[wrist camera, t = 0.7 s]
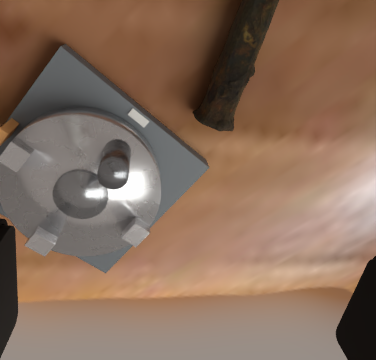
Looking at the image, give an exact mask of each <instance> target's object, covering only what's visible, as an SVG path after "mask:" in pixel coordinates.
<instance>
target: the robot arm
mask: <svg viewBox="0 0 376 360" xmlns="http://www.w3.org/2000/svg"><path fill="white" fill-rule="evenodd" d="M17 316H18V296H17V268H16V241H15V228H14V227H13V226H8V224H7V221H6V220H5V219H0V358H1V355H2V353H3V351H4V349H5V347H6V344H7V342H8V340H9V337H10V335H11V333H12V331H13V329H14V327H15V324H16V320H17ZM336 338H337V341H338V343H339V345H340V347H341V349H342V350H343V352H344V354H345V355H346V357H347V359H348V360H376V256H375V257H374V258H373V259H371V260H370V261H369V262H368V263H367V265H366V268H365V270H364V272H363V274H362V276H361V278H360V280H359V282H358V284H357V287H356V289H355V291H354V293H353V295H352V297H351V299H350V301H349V303H348V306H347V308H346V310H345V312H344V314H343V316H342V318H341V320H340V323H339V325H338V327H337V329H336Z"/></svg>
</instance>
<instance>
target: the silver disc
mask: <svg viewBox="0 0 376 360" xmlns="http://www.w3.org/2000/svg"><path fill="white" fill-rule="evenodd" d="M160 200H161V180H160V171H159V164H158V161H157V158H156V155H155V153H154V151H153V149H152V147H151V145H150V144H149V142H148V141H147V139H146V138H145V137H144V136H143V135H142V134H141V132H140V131H139V130H137V129H136V128H135V127H134V126H133V125H132V124H130V123H129V122H127V121H126V120H124V119H123V118H121V117H119V116H117V115H115V114H112V113H110V112H107V111H104V110H100V109H96V108H90V107H66V108H60V109H57V110H53V111H50V112H48V113H45V114H43V115H41V116H39V117H38V118H36V119H34V120H33V121H32V122H30V123H29V124H28V125H27V126H26V127H25V128H24V129H23V130H22V131H21V132H20V133H19V134H18V135H17V136H16V137H15V138H14V139H13V140H12V141H11V142H10V143H9V145H8V146H7V147H6V149H5V150H4V152H3V153H2V154H1V156H0V203H1V205H2V208H3V210H4V212H5V213H6V215H7V217H8V218H9V219H10V221H11V222H12V223H13V225H14V226H15V227H16V228H17V229H18V230H19V231H20V232H21V233H22V234H24V235H25V236H26V237H27V238H28V239H27V241H26V243H25V246H26V247H28V248H30V249H32V250H34V251H36V252H37V253H39V254H41V255H43V256H46V255H47V254H48V252H49V251H50V250H52V251H55V252H58V253H62V254H66V255H73V256H97V255H104V254H108V253H111V252H115V251H117V250H120V249H122V248H124V247H126V246H128V245H130V244H132V245H133V246H135V247H137V246H138V245H139V244H140V242H141V241H142V240H143V239H144V238H145V237H146V236H147V235H148V234H149V233H150V225H151V224H152V222H153V221H154V219H155V216H156V214H157V212H158V209H159V205H160Z"/></svg>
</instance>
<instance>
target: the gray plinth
mask: <svg viewBox="0 0 376 360" xmlns="http://www.w3.org/2000/svg"><path fill="white" fill-rule="evenodd" d="M66 107H90V108H96V109H100V110H104V111H107V112H110V113H112V114H115V115H117V116H119V117H121V118H123V119H124V120H126V121H127V122H129V123H130V124H132V125H133V126H134V127H135V128H136V129H137V130H139V131H140V132H141V134H142V135H143V136H144V137H145V138H146V139H147V141H148V142H149V144H150V145H151V147H152V149H153V151H154V153H155V155H156V158H157V161H158V164H159V171H160V180H161V200H160V205H159V209H158V212H157V214H156V216H155V219H154V221H153V222H152V224H151V225H150V228H151V227H152V225H153V224H154V223H155V222H156V221H157V220H158V219H159V218H160V217H161V216H162V215H163V214H164V213H165V212H166V211H167V210H168V209H169V208H170V207H171V206H172V205H173V204H174V203H175V202H176V201H177V200H178V199H179V198H180V197H181V196H182V195H183V194H184V193H185V192H186V191H187V190H188V189H189V188H190V187H191V186H192V185H193V184H194V183H195V182H196V181H197V180H198V179H199V178H200V177H201V176H202V175H203V174H204V173H205V171H206V170H207V169H208V168H209V166H208V163H207V161H206V160H205V159H204V158H203V157H202V156H201V155H199V154H198V153H197V152H196V151H195V150H193V149H192V148H191V147H190V146H188V145H187V144H186V143H185V142H184V141H182V140H181V139H180V138H179V137H178V136H176V135H175V134H174V133H173V132H172V131H170V130H169V129H168V128H167V127H165V126H164V125H163V124H162V123H161V122H159V121H158V120H157V119H156V118H155V117H153V116H152V115H151V114H150V113H149V112H147V111H146V110H145V109H144V108H142V107H141V106H140V105H139V104H138V103H136V102H135V101H134V100H133V99H132V98H130V97H129V96H128V95H127V94H126V93H124V92H123V91H122V90H121V89H120V88H118V87H117V86H116V85H115V84H113V83H112V82H111V81H110V80H109V79H107V78H106V77H105V76H104V75H103V74H101V73H100V72H99V71H98V70H97V69H95V68H94V67H93V66H92V65H90V64H89V63H88V62H87V61H86V60H84V59H83V58H82V57H81V56H80V55H78V54H77V53H76V52H75V51H74V50H72V49H71V48H70V47H69V46H67V45H66V44H64V45H62V46H60V48H59V49H58V51H57V52H56V53H55V55H54V56H53V57H52V59H51V60H50V62H49V63H48V64H47V66H46V67H45V69H44V70H43V71H42V73H41V74H40V76H39V77H38V78H37V80H36V81H35V82H34V84H33V85H32V87H31V88H30V89H29V91H28V92H27V94H26V95H25V96H24V98H23V99H22V100H21V102H20V103H19V105H18V106H17V107H16V109H15V110H14V112H13V113H12V114H11V116H10V117H9V119H8V120H7V121H6V123H5V124H4V125H3V126H2V127H0V156H1V154H2V153H3V152H4V150H5V149H6V147H7V146H8V145H9V143H10V142H11V141H12V140H13V139H14V138H15V137H16V136H17V135H18V134H19V133H20V132H21V131H22V130H23V129H24V128H25V127H26V126H27V125H28V124H29V123H30V122H32V121H33V120H34V119H36V118H38V117H39V116H41V115H43V114H45V113H48V112H50V111H53V110H57V109H60V108H66ZM0 214H2V215H4V216H5V217H7V215H6V213H5V212H4V210H3V208H2V205H1V203H0ZM7 218H8V217H7ZM132 246H133V245H132V244H130V245H128V246H126V247H124V248H122V249H120V250H117V251H115V252H111V253H108V254H104V255H97V256H76V257H78V258H80V259H81V260H83V261H85V262H87V263H89V264H90V265H92V266H94V267H96V268H97V269H99V270H101V271H103V272H104V273H106V272H107V271H108V270H109V269H110V268H111V267H112V266H113V265H114V264H115V263H116V262H117V261H118V260H119V259H120V258H121V257H122V256H123V255H124V254H125V253H126V252H127V251H128V250H129V249H130V248H131V247H132Z"/></svg>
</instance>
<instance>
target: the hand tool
mask: <svg viewBox="0 0 376 360" xmlns="http://www.w3.org/2000/svg"><path fill="white" fill-rule="evenodd" d="M278 2H279V0H242V2H241V5H240V7H239V9H238V12H237V15H236V17H235V20H234V22H233V24H232V26H231V29H230V32H229V35H228V38H227V41H226V43H225V46H224V48H223V51H222V53H221V55H220V57H219V60H218V62H217V64H216V66H215V69H214V71H213V76H212V78H211V81H210V85H209V87H208V90H207V93H206V96H205V98H204V100H203V102H202V105H201V106H200V107H199V109H197V110H195V111H194V112H193V114H194V116H195V118H196V119H197V120H198V121H199V122H200V123H202V124H204V125H206V126H209V127H211V128H214V129H216V130H218V131H233V130H234V114H235V110H236V107H237V105H238V102H239V100H240V97H241V95H242V92H243V90H244V88H245V86H246V85H247V83H248V81H249V78H250V77H252V76H253V75H254V72H255V67H254V63H255V60H256V58H257V55H258V53H259V50H260V48H261V45H262V43H263V41H264V38H265V35H266V32H267V30H268V28H269V25H270V23H271V20H272V17H273V15H274V12H275V9H276V7H277V4H278Z"/></svg>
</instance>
